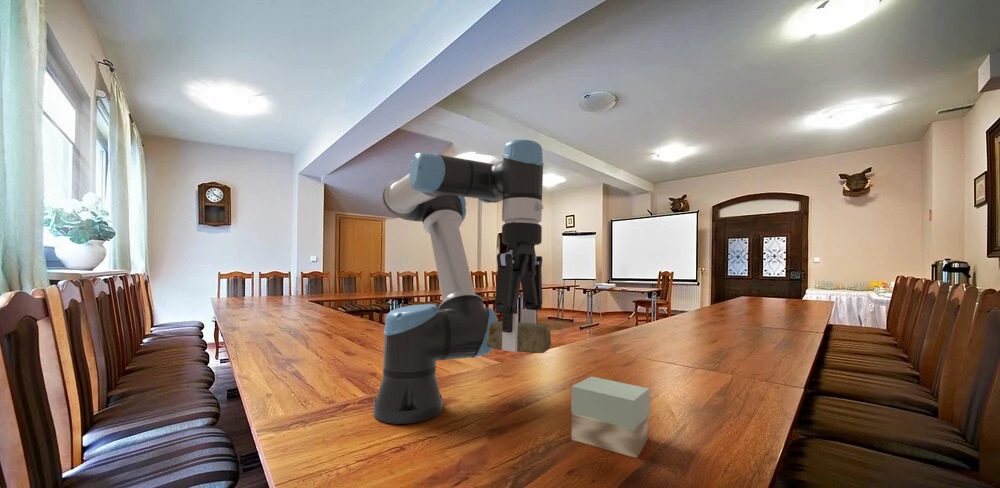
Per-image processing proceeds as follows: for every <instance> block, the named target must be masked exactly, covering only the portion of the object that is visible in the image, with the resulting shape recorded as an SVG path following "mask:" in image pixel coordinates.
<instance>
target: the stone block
mask: <svg viewBox="0 0 1000 488" xmlns="http://www.w3.org/2000/svg"><path fill="white" fill-rule="evenodd" d="M502 324H503V323H502V320H501V321H500V320H499V321H498V320H497V322H494V323H492V324H490V325H489V328H488V338H487V346H488V347H491V348H493V349H492V350H499V351H503V350H502ZM551 339H552V338H551V327H550V325H549V324H544V323H543V324H542V323H541V324H540V323H536V324H534V323H522V321H521V322H519V321H518V337H517V352H519V353H529V354H544V353H546V352H547V351H548V350H549V349H550V348H551V344H552V343H551V341H552V340H551Z"/></svg>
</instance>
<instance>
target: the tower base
mask: <svg viewBox="0 0 1000 488" xmlns="http://www.w3.org/2000/svg"><path fill="white" fill-rule="evenodd" d="M648 439H649V416H648V417H647V418H646V419H645V420H644V421H643V422H642V423H641V424H640V425H639V426H638V427H637V428H636V429H635V430H631V429H627V428H624V427H620V426H617V425H613V424H610V423H606V422H603V421H599V420H596V419H592V418H588V417H585V416H581V415H578V414H574V413H571V441H574V442H577V443H578V442H579V443H581V444H582V443H583V444H586V445H590V446H592V447H597V448H599V449H603V450H607V451H609V452H614V453H617V454H620V455H621V454H622V455H624V456H628V457H631V458H636V459H637V458H638V457H639V456H640V454H641V452H642V450H643V449H644V447H645V445H646V443H647V441H648Z"/></svg>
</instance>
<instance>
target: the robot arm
mask: <svg viewBox="0 0 1000 488" xmlns="http://www.w3.org/2000/svg"><path fill="white" fill-rule="evenodd" d="M502 159H503V160H501V161H499V162H496V163H489V162H484V161H478V160H477V161H476V160H472V159H465V158H461V157H454V156H449V155H442V154H439V153H435V152H422V151H421V152H417V153H415V154H414V156H413V157H412V160H411V161H410V162H411V163H410V165H409V166H410V168H409V173H407V175H405V176H404V177H402V178H401V177H400V178H396V179H393V180H391V181H390V182H389V183H387V184H386V185H385V187H384V188H383V191H382V203H383V205H384V207H385V209H386V210H387V211H389V213H390V214H392V215H393V216H395V217H396V218H399V219H402V220H405V221H410V222H411V221H412V222H419V223H420V222H422V224H423V225H422V226H423V229H424V230H425V232H427V233H428V234H429V235H430V240H431V246H432V249H433V250H432V252H433V255H434V256H433V257H434V262H435V266H436V273H437V277H438V278H437V279H438V283H439V284H438V285H439V290H440V293H441V300H442V302H441V303H440V304H439V305H438V304H437V305H436V304H434V303H425V304H414V305H412V304H411V305H407V306H402V307H397V308H394V309H392V310H390V311H389V312H388V313H387V314H386V317H385V323H384V330H383V335H384V337H383V338H384V339H383V341H384V342H383V364H382V365H383V366H382V367H383V369H382V379H381V382H380V386H379V388H378V392H377V396H376V398H375V399H374V401H373V405H372V407H373V408H372V411H373V412H372V414H373V417H374V418H375V420H378V421H380V422H383V423H388V424H395V425H397V424H398V425H403V424H404V425H406V424H407V425H409V424H416V423H421V422H425V421H429V420H431V419H434V418H436V417H437V416H439V415H440V414H441V413H442V411H443V405H444V403H443V400H444V399H443V396H442V394H441V393H440V392H441V391H440V387H439V382H438V379H437V375H436V374H437V372H436V371H437V362H438V361H449V360H459V359H468V358H471V359H474V358H476V357H481V356H486V355H488V354H489V353H491V352H492V350H494V349H493V348H491V347H488V346H487V338H488V328H489V325H490V324H492V323H494V322H497V321H498V317H497V314H496V313H499V314H502V316H501V318H502V320H501V321H502V323H503V324H502V350H501V351H506V352H512V353H516V352H517V337H518V322H519V313H516V309H517V304H518V303H517V302H518V298H519V293H520V288H521V290H522V297H523V304H524V308H523V309H522V317H521V322H522V323H534V324H537V311H541V310H542V309H543V282H542V281H543V279H542V277H543V276H542V275H543V274H542V266H543V256H542V255H541V256H540V255H536V250H535V249H536V248H535V246H537V245H541V244H542V241H543V239H542V238H543V237H542V233H543V229H542V228H543V226H542V225H541V224H539V223H541V222H542V219H543V217H542V214H543V213H542V211H543V209H544V205H543V204H542V203H543V185H544V184H543V180H544V179H543V177H544V176H543V175H544V164H545V163H544V160H543V147H542V145H541V144H540V143H538V142H537V141H535V140H530V139H514V140H511V141H508V142H507V143H505V145H504V147H503V154H502ZM466 198H474V199H478V200H479V201H481V202H482V203H487V204H491V203H494V204H495V203H498V202H502V207H501V209H502V211H501V221H502V222H503V223H504V224H502V225H501V243H502V244H503V245H507V248H506V251H505V252H504V253H497V255H496V261H497V263H496V264H497V272H496V273H497V275H496V284H495V286H496V287H495V301H494V309H495V310H494V309H493V308H490V307H485V303H484V300H483V298H482V297H481V296H480V295H479V294H476V292H475V288H474V284H473V279H472V276H471V271H470V267H469V264H468V259H467V255H466V251H465V247H464V243H463V238H462V234H461V231H460V227H461V226H462V224H463V222H464V221H465V218H466V215H467V208H466V207H467V202H466ZM495 311H496V312H495Z"/></svg>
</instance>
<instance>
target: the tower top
mask: <svg viewBox="0 0 1000 488" xmlns="http://www.w3.org/2000/svg"><path fill="white" fill-rule="evenodd" d="M570 396H571V398H570V399H571V404H570V405H571V410H570V412H571V414H573V413H574V414H578V415H581V416H585V417H588V418H592V419H596V420H599V421H603V422H606V423H610V424H613V425H617V426H620V427H624V428H627V429H631V430H635V429H636V428H637V427H638V426H639V425H640V424H641V423H642V422H643V421H644V420H645V419H646V418H647V417H648V418H649V416H650V415H651V414H650V413H651V411H650V405H651V403H650V401H651V400H650V388H649V387H645V386H644V387H643V386H639V385H635V384H629V383H625V382H621V381H615V380H610V379H605V378H601V377H595V376H592V375H591V376H590V377H587V378H585V379H583V380H582V381H579V382H577V383H575V384H573V385H571V395H570Z"/></svg>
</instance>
